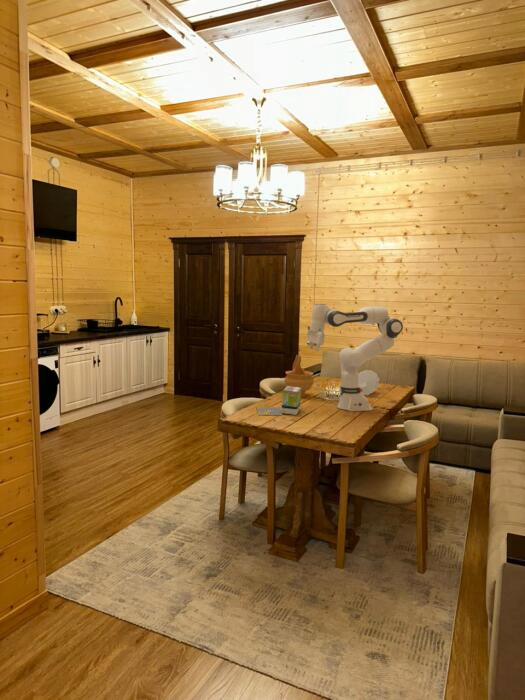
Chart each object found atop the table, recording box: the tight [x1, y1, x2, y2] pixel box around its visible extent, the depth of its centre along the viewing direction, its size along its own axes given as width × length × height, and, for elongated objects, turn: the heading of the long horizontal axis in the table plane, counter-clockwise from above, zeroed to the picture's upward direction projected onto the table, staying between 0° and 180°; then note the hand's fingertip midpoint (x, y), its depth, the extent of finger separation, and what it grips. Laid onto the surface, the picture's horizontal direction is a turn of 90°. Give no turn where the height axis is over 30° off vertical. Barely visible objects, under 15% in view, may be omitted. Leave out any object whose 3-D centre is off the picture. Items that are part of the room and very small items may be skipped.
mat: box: [255, 406, 284, 416], centre depth 299 cm, size 15×20×1 cm
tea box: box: [280, 386, 302, 416], centre depth 300 cm, size 15×10×15 cm, turn 168°
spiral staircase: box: [358, 369, 381, 396], centre depth 362 cm, size 18×18×25 cm
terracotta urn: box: [284, 354, 315, 398], centre depth 346 cm, size 21×21×30 cm
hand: (314, 350), depth 308 cm, fingers open, 8 cm apart
